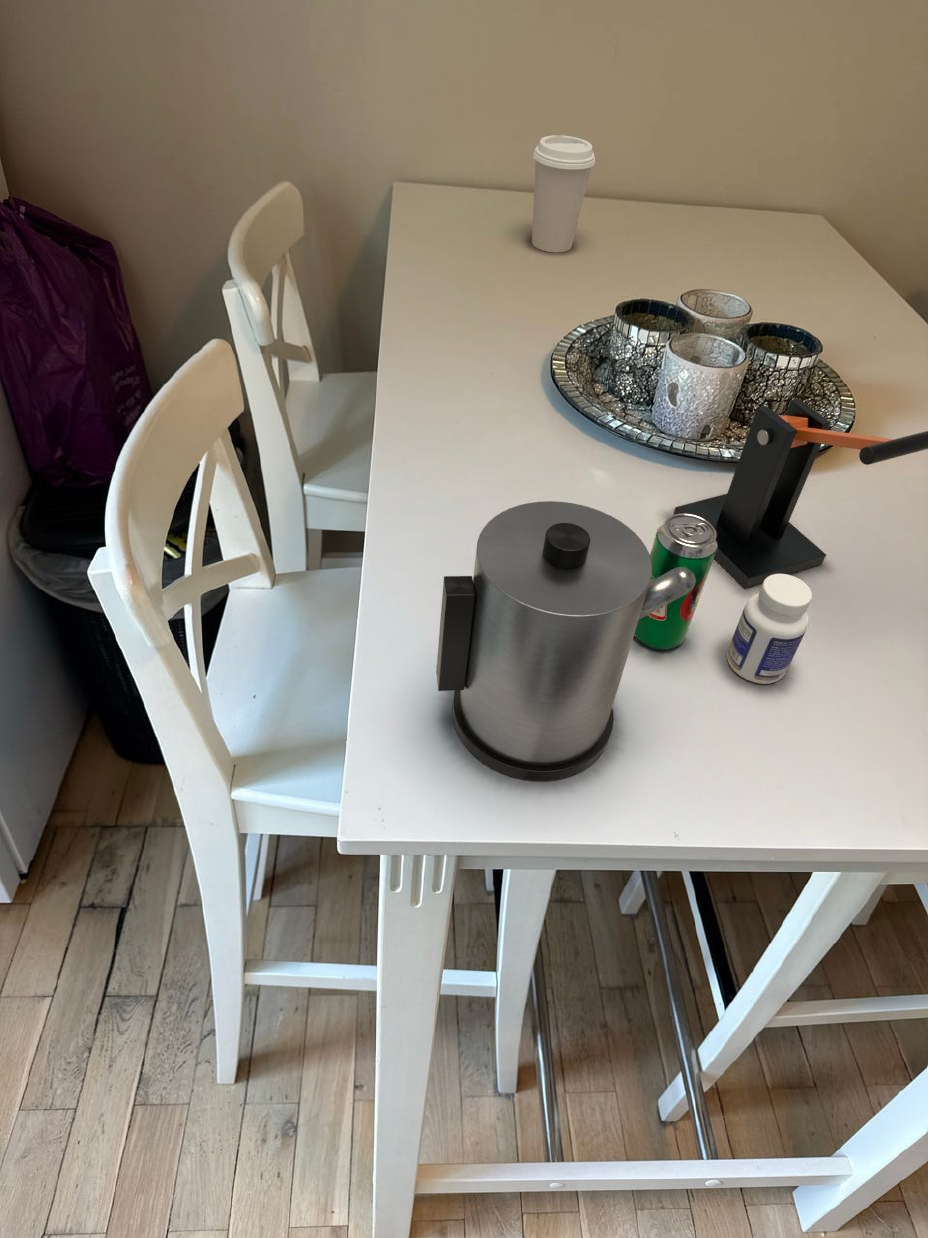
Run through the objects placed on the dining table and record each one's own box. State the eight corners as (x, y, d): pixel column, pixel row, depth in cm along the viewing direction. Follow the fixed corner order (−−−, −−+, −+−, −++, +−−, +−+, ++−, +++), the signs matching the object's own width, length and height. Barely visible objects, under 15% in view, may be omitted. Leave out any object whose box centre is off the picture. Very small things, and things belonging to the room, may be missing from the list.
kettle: (630, 654, 78) (683, 478, 65) (669, 775, 68) (741, 600, 55) (428, 659, 75) (440, 478, 62) (441, 786, 66) (459, 605, 53)
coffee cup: (582, 237, 146) (599, 138, 135) (579, 259, 139) (596, 157, 128) (525, 229, 146) (537, 130, 136) (519, 251, 139) (531, 149, 129)
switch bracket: (821, 564, 89) (881, 439, 78) (744, 588, 85) (796, 460, 75) (746, 496, 96) (791, 374, 86) (672, 516, 93) (710, 391, 82)
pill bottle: (793, 658, 79) (829, 585, 73) (775, 694, 75) (811, 621, 69) (736, 633, 81) (767, 559, 74) (716, 667, 77) (747, 593, 71)
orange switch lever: (934, 455, 72) (937, 425, 71) (872, 472, 70) (874, 442, 69) (804, 435, 84) (804, 410, 84) (747, 449, 82) (747, 423, 81)
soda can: (619, 618, 81) (648, 514, 72) (668, 609, 82) (702, 506, 74) (643, 657, 77) (677, 553, 69) (694, 647, 79) (733, 544, 70)
